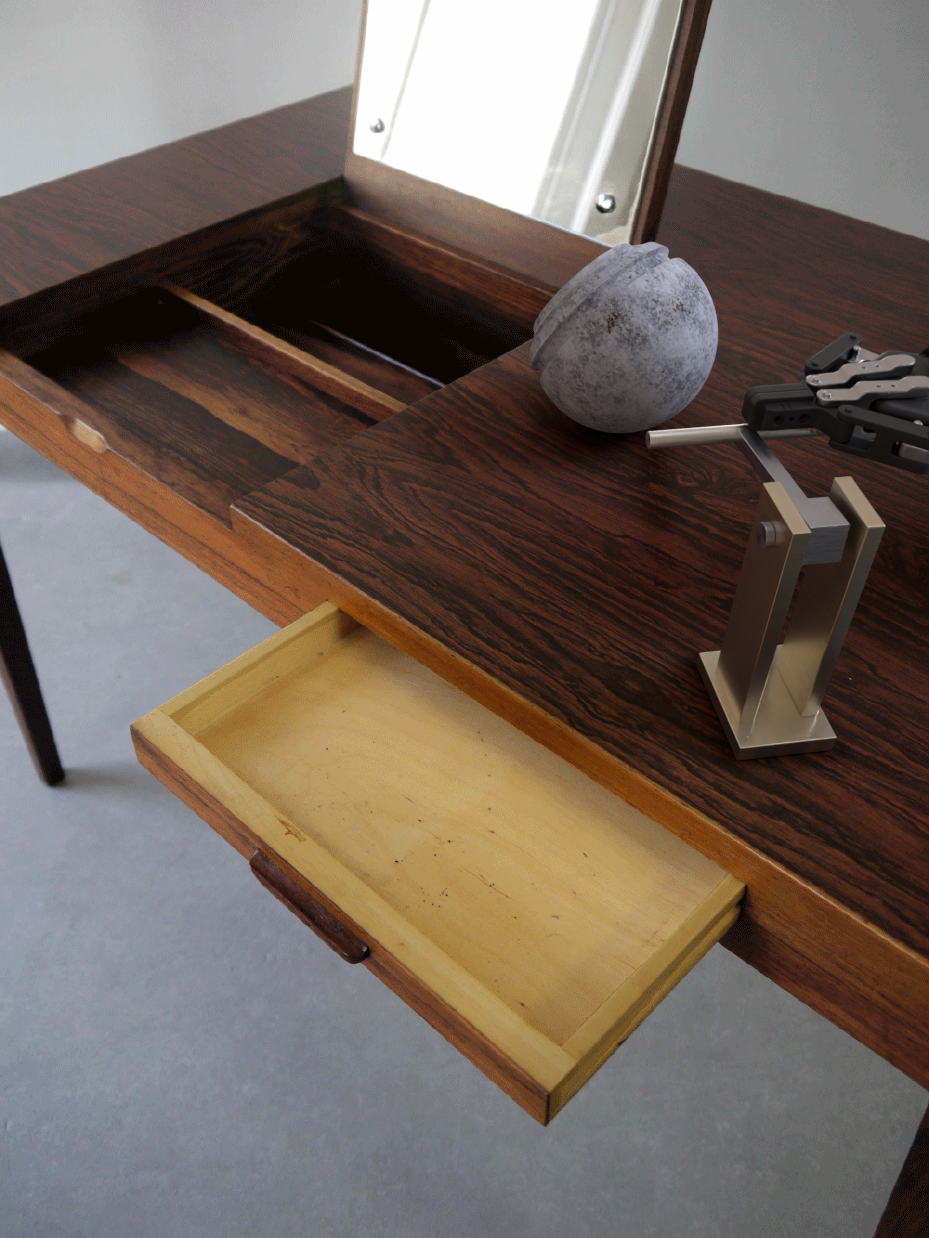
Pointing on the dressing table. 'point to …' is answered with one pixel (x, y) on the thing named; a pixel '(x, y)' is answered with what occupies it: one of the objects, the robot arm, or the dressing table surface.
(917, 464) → the robot arm
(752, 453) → the tap lever
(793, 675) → the bracket
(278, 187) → the dressing table surface
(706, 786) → the dressing table surface
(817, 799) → the dressing table surface
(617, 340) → the decorative orb
